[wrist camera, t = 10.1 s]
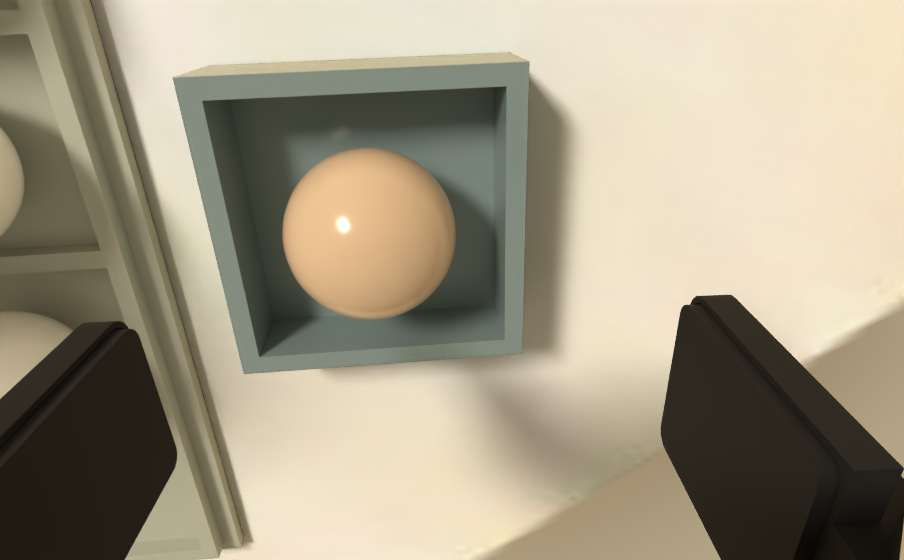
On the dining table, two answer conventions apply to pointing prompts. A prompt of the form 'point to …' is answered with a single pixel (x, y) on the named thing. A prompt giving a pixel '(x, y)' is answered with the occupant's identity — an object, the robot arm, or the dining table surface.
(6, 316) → the white egg
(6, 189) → the white egg
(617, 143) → the dining table surface
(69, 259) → the carton
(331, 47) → the dining table surface
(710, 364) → the robot arm
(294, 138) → the dish
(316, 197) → the brown egg
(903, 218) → the dining table surface
